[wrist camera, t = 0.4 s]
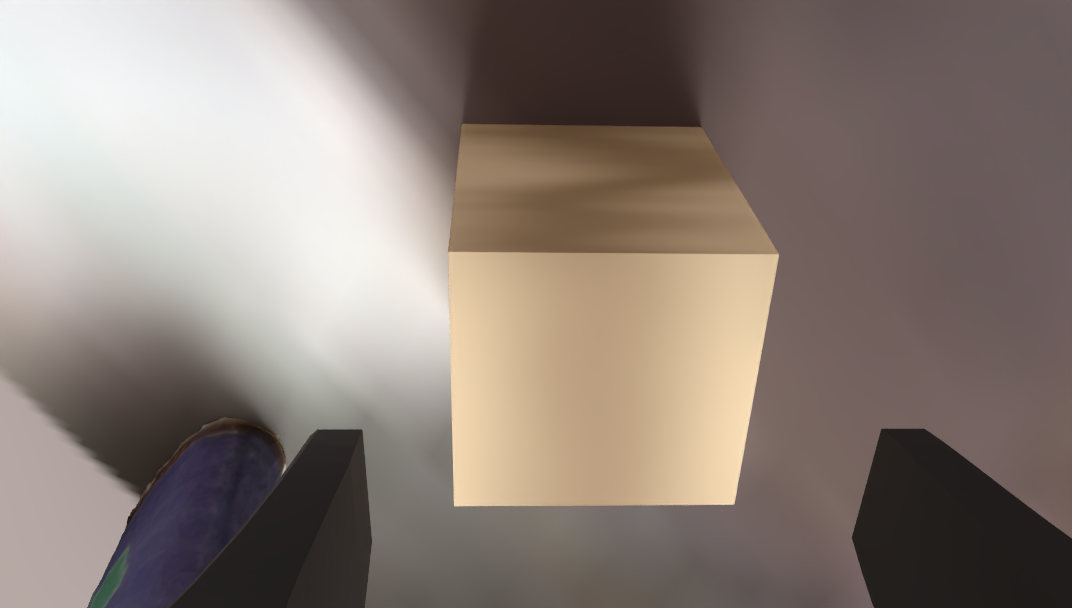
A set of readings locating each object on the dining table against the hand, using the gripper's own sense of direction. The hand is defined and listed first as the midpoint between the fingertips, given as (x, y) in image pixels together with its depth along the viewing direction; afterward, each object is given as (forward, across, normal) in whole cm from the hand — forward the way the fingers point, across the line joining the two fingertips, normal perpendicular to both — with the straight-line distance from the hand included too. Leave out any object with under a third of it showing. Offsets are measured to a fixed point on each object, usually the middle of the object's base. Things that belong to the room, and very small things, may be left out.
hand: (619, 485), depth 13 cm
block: (+8, 0, 0) cm, 9 cm away
